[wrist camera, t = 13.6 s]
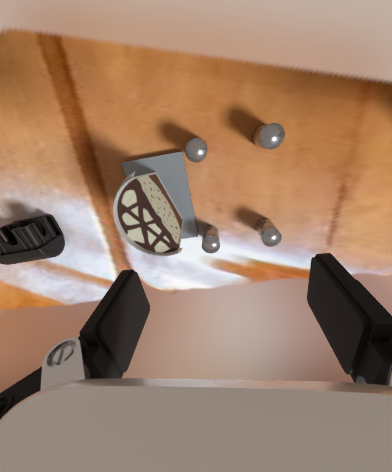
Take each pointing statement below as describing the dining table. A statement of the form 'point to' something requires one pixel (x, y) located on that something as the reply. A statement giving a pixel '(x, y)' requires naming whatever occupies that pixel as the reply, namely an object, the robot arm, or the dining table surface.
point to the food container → (148, 215)
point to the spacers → (268, 139)
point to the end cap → (31, 240)
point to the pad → (169, 184)
